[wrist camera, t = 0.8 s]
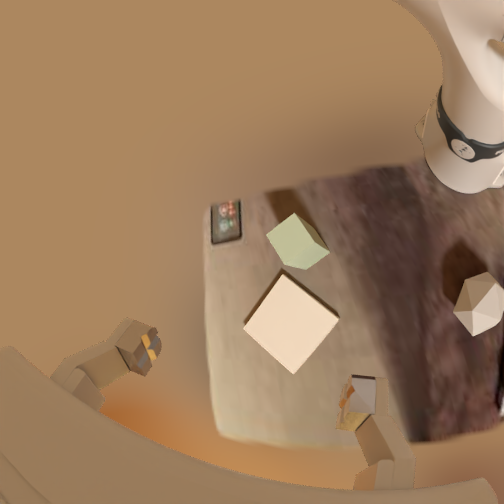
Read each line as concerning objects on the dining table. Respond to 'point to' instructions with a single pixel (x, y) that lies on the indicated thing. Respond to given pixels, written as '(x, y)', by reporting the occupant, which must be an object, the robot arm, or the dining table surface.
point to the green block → (297, 243)
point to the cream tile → (290, 323)
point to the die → (480, 303)
